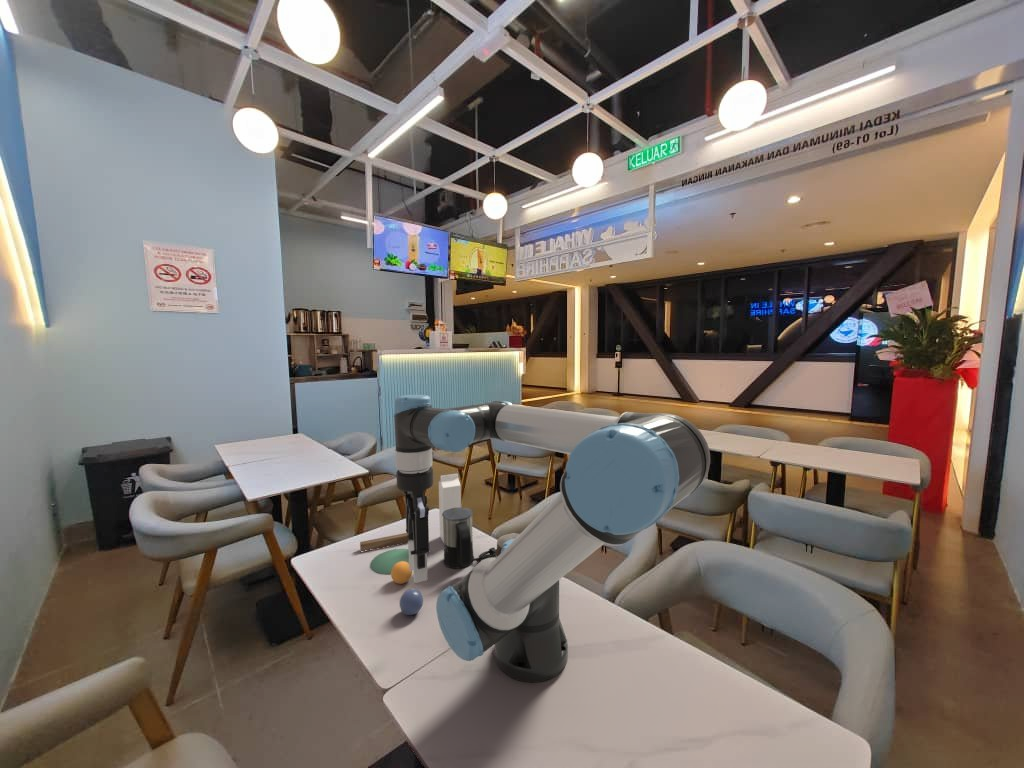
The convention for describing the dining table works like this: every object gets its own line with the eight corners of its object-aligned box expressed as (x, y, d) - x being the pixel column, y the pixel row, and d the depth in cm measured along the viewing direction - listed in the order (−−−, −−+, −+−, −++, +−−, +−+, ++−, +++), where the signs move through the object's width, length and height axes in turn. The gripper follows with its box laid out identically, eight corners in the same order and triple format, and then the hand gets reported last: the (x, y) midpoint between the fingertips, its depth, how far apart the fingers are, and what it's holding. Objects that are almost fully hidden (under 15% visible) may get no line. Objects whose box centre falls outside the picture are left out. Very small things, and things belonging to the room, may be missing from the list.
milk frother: (437, 559, 119) (436, 512, 118) (480, 543, 129) (479, 499, 128) (463, 580, 108) (462, 528, 107) (507, 560, 118) (507, 512, 117)
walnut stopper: (418, 540, 131) (418, 533, 131) (360, 552, 123) (360, 544, 123) (417, 537, 133) (417, 530, 132) (360, 549, 125) (360, 542, 125)
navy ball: (425, 616, 93) (425, 594, 93) (401, 623, 91) (401, 600, 90) (420, 603, 98) (420, 581, 98) (398, 609, 96) (397, 587, 95)
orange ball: (414, 584, 106) (413, 565, 105) (393, 590, 104) (392, 570, 103) (410, 574, 111) (409, 555, 110) (390, 579, 109) (389, 560, 108)
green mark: (423, 566, 115) (423, 566, 115) (373, 578, 109) (372, 578, 109) (414, 545, 127) (414, 545, 127) (368, 555, 121) (368, 554, 121)
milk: (461, 540, 130) (461, 476, 128) (443, 544, 128) (442, 478, 126) (456, 533, 136) (455, 470, 134) (439, 536, 134) (438, 473, 132)
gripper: (443, 477, 76) (446, 592, 78) (423, 456, 92) (426, 551, 94) (403, 483, 73) (407, 602, 75) (390, 460, 89) (393, 559, 91)
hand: (418, 574), depth 85 cm, fingers open, 4 cm apart
